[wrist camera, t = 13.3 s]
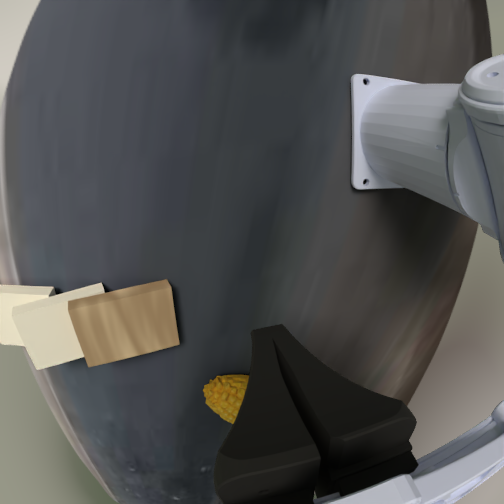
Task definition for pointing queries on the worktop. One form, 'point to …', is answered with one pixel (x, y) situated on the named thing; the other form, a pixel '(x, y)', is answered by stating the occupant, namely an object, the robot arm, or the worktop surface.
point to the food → (226, 395)
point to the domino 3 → (125, 322)
